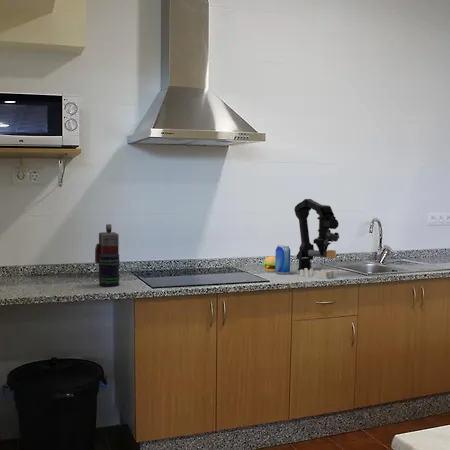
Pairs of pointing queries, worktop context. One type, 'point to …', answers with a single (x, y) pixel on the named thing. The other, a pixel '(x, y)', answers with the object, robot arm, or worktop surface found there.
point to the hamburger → (270, 264)
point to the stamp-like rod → (326, 254)
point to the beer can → (282, 260)
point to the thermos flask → (107, 243)
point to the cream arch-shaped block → (324, 274)
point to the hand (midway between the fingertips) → (323, 255)
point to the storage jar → (109, 270)
